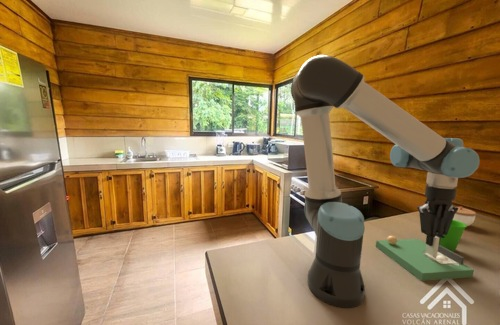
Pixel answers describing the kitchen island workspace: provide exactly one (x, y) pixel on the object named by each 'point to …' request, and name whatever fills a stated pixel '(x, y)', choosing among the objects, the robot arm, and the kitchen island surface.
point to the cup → (453, 235)
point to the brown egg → (392, 240)
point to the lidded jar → (465, 216)
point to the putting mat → (425, 260)
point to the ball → (442, 258)
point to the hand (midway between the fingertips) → (431, 253)
